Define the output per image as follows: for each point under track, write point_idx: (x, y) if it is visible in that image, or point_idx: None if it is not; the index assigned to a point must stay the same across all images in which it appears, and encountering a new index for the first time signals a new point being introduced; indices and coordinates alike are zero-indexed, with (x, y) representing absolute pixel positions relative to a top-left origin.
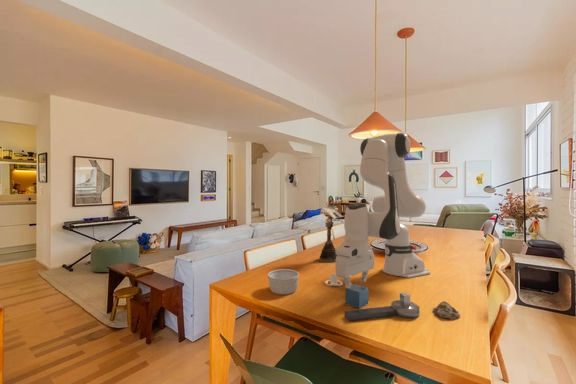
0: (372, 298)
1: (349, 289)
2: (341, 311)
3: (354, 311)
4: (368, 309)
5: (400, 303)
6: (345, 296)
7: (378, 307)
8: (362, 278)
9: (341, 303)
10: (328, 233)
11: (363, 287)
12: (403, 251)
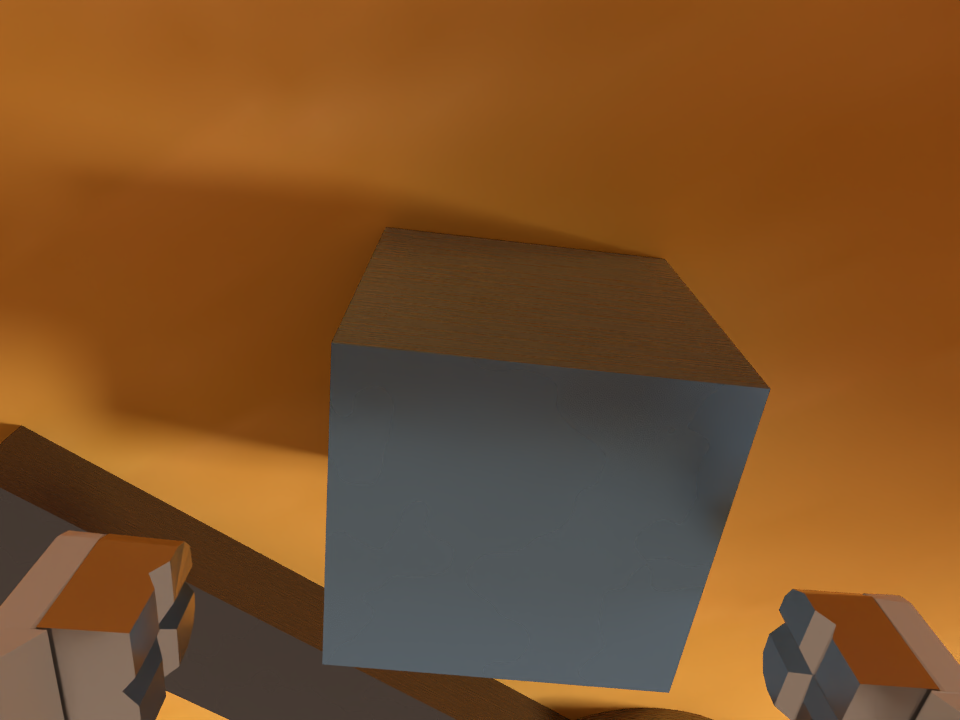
0: (847, 452)
1: (331, 452)
2: (102, 319)
3: None
4: (283, 659)
5: None
6: (367, 268)
7: (433, 711)
8: (834, 716)
9: (346, 166)
10: None
11: (635, 624)
12: None
